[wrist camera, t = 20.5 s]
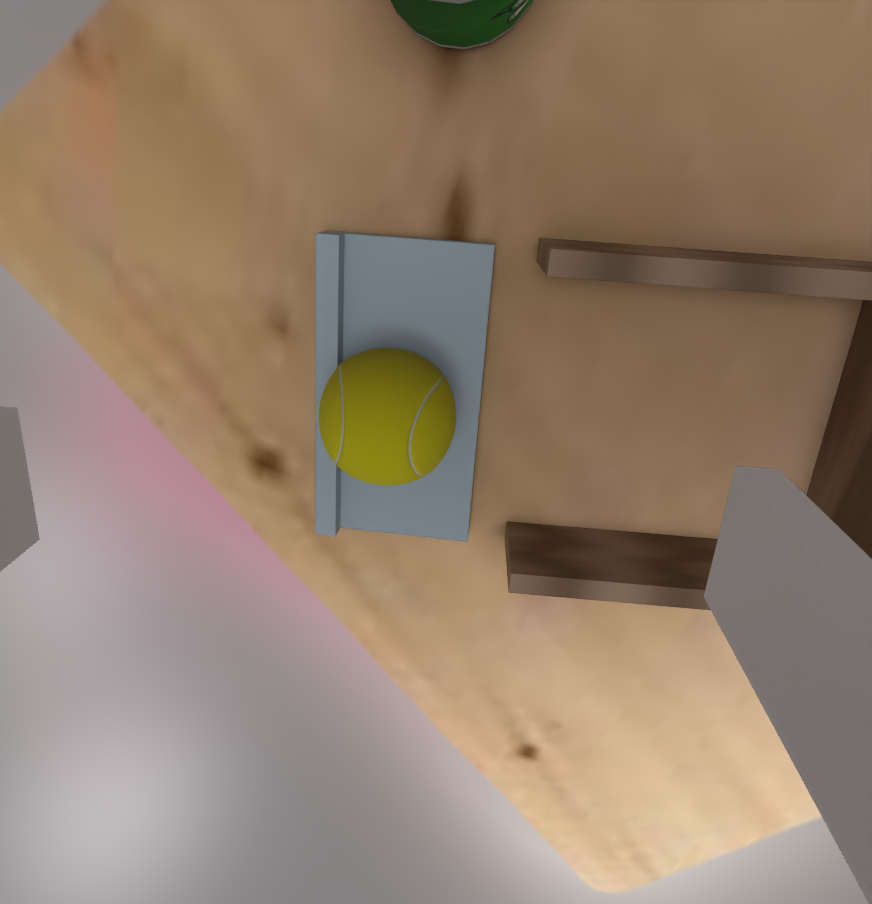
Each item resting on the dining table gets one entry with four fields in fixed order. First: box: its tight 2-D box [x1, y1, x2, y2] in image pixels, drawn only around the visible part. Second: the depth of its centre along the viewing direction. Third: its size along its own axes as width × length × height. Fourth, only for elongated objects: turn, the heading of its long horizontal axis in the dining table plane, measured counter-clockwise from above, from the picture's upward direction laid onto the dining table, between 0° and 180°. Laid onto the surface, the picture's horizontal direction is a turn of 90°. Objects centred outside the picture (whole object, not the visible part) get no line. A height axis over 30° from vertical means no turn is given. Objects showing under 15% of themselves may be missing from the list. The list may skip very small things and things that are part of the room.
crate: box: [505, 238, 872, 610], centre depth 36 cm, size 19×18×8 cm
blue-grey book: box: [316, 231, 495, 542], centre depth 39 cm, size 2×17×9 cm
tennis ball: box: [319, 348, 456, 486], centre depth 36 cm, size 7×7×7 cm
